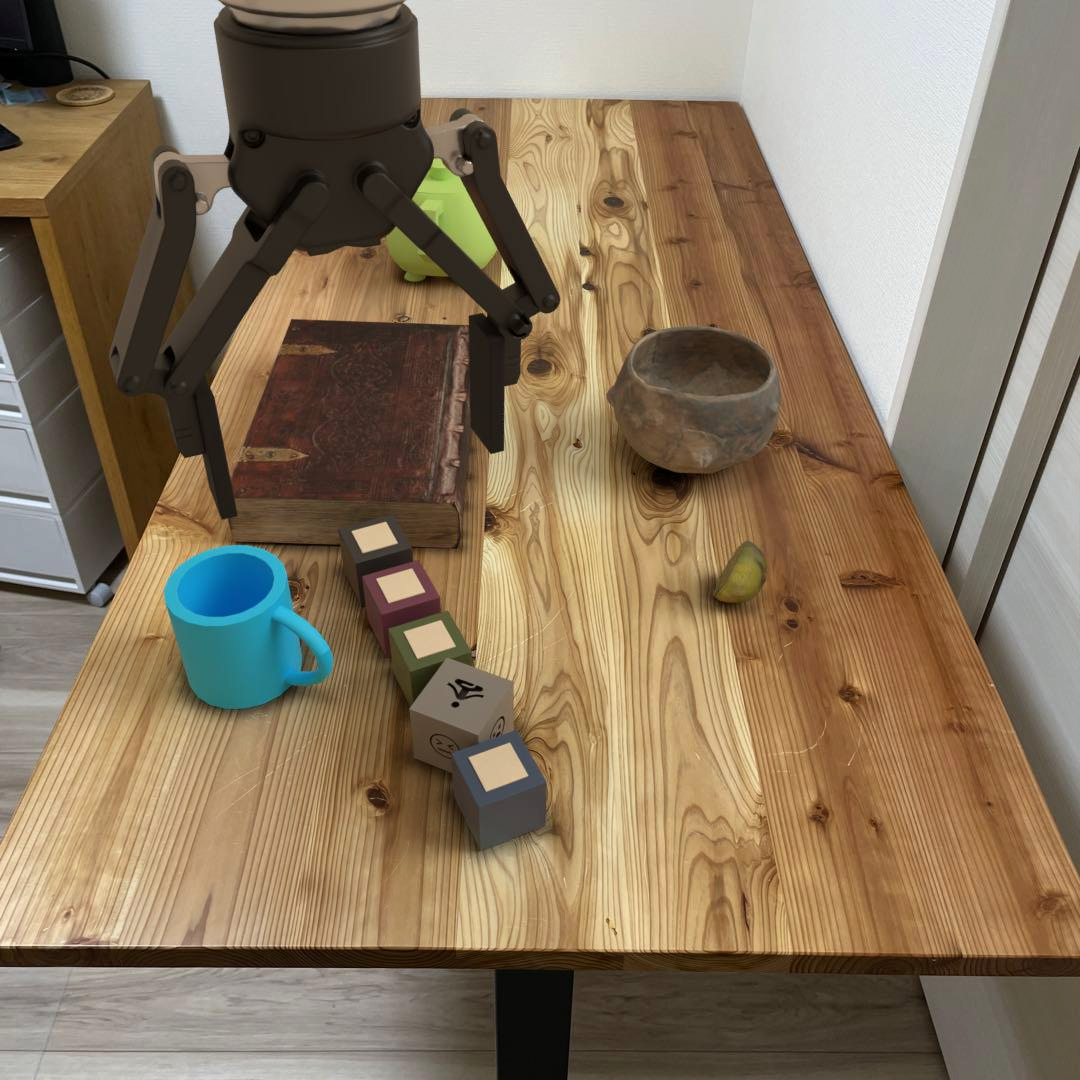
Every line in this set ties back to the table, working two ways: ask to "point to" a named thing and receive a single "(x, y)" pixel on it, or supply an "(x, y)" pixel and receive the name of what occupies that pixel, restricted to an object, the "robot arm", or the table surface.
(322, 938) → the table surface
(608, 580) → the table surface
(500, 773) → the block
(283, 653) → the mug
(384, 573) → the block
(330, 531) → the hardback book
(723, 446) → the bowl
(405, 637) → the block
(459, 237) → the teapot
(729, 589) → the lime
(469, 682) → the dice cube
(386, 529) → the block
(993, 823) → the table surface
